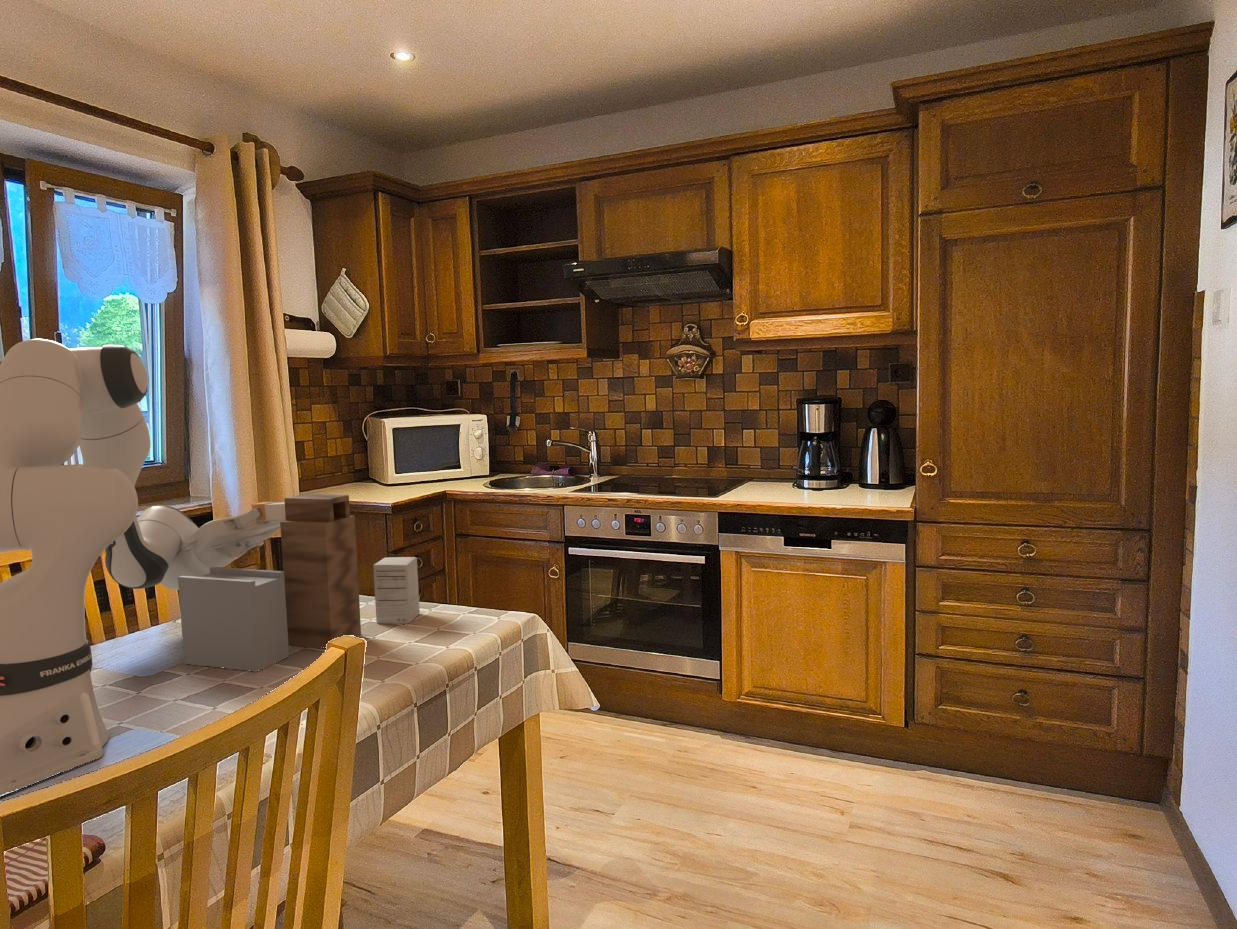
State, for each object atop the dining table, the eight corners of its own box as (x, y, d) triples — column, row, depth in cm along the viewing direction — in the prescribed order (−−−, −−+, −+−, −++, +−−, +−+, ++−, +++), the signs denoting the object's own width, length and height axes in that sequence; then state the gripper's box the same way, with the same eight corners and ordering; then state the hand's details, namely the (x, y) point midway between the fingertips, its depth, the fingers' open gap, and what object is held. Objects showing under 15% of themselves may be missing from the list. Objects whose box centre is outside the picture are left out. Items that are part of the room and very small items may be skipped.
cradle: (256, 672, 134) (250, 581, 132) (184, 664, 139) (177, 577, 137) (289, 656, 142) (283, 571, 140) (219, 649, 146) (213, 566, 145)
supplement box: (387, 613, 168) (384, 556, 167) (420, 613, 168) (418, 556, 167) (375, 624, 161) (372, 564, 160) (410, 623, 161) (407, 564, 159)
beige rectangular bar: (312, 518, 147) (310, 501, 147) (253, 520, 151) (251, 504, 151) (323, 515, 150) (321, 499, 150) (265, 517, 154) (263, 502, 154)
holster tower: (331, 649, 145) (323, 500, 142) (287, 645, 148) (278, 499, 145) (361, 634, 154) (353, 494, 151) (319, 630, 157) (311, 492, 154)
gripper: (171, 537, 147) (218, 503, 142) (251, 519, 166) (295, 489, 162) (186, 566, 146) (234, 533, 142) (265, 545, 166) (310, 515, 161)
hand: (267, 509), depth 152 cm, fingers closed on beige rectangular bar, 3 cm apart
